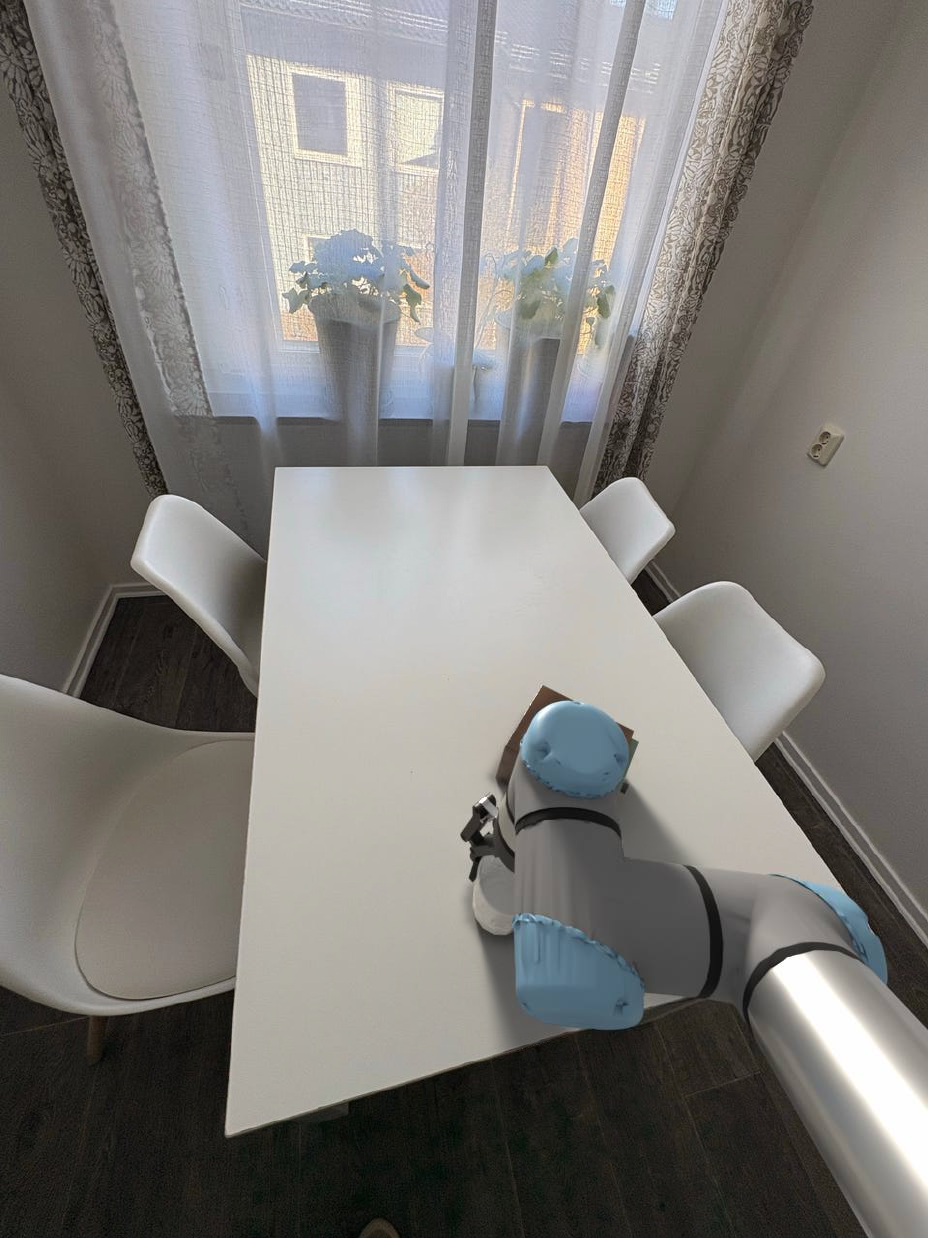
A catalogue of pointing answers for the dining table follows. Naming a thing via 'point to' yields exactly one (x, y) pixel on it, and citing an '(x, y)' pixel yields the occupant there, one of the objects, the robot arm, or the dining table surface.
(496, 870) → the white cup
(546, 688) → the cabinet
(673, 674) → the dining table surface
